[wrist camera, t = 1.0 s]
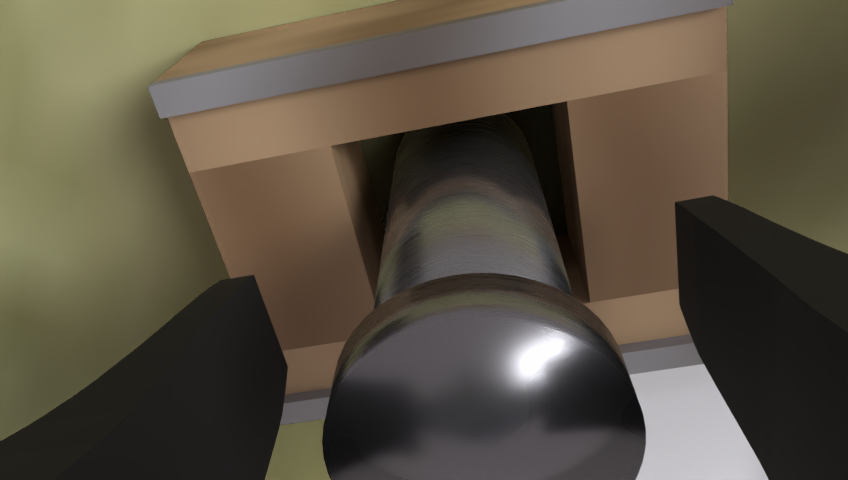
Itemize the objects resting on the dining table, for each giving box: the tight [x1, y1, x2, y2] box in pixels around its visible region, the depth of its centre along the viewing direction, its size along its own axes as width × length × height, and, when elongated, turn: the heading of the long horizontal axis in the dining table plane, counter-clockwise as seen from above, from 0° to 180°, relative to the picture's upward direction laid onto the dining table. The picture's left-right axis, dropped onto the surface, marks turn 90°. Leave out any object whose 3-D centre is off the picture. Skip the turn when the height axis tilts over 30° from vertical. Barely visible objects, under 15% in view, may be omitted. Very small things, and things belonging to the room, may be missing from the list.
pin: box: [322, 113, 646, 480], centre depth 13 cm, size 4×4×9 cm
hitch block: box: [148, 0, 733, 425], centre depth 15 cm, size 10×8×3 cm
